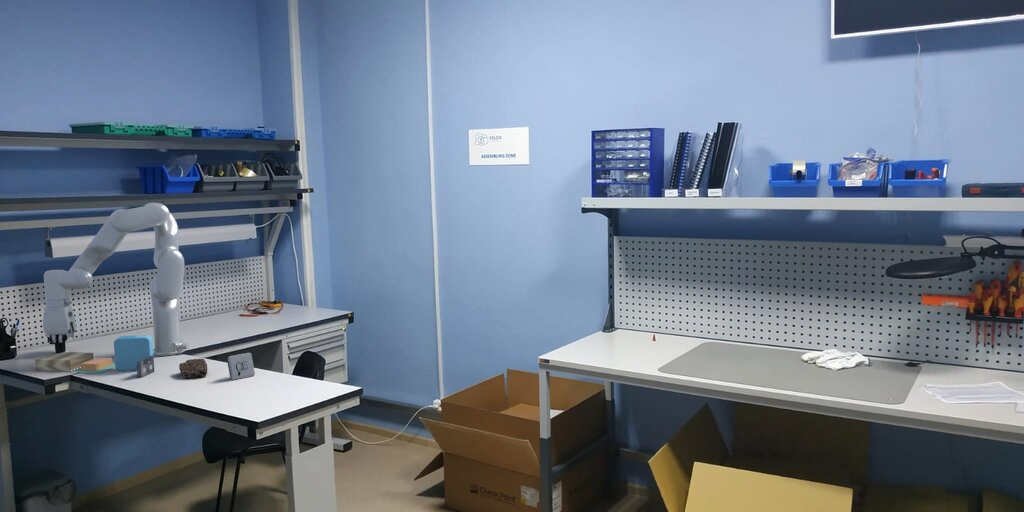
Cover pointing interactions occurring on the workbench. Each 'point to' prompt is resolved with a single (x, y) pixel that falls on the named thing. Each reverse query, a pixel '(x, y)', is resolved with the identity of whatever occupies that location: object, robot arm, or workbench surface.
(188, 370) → the brown rock
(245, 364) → the electrical switch
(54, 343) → the pneumatic valve
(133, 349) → the data package
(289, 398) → the workbench surface
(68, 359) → the deck
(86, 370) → the mat
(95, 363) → the orange sponge
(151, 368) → the mini dv tape
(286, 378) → the workbench surface
